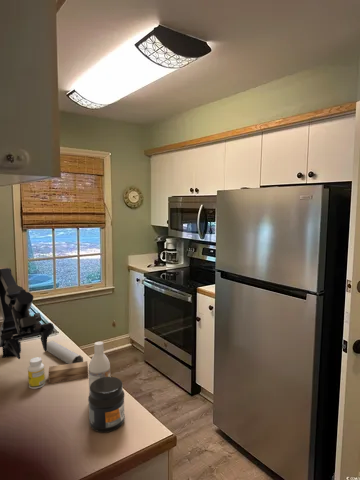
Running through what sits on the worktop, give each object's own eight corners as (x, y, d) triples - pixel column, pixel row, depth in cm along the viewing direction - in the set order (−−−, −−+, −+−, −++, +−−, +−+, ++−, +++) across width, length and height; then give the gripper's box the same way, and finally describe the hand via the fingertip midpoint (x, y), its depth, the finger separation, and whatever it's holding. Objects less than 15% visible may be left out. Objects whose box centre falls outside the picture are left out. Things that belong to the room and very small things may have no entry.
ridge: (48, 383, 121) (48, 372, 121) (49, 375, 127) (49, 365, 127) (88, 377, 126) (88, 367, 125) (87, 369, 131) (87, 360, 131)
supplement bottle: (29, 382, 122) (28, 357, 121) (45, 380, 123) (44, 355, 122) (28, 390, 117) (26, 364, 116) (44, 387, 118) (43, 361, 117)
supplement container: (131, 425, 98) (130, 386, 97) (97, 439, 92) (95, 398, 91) (116, 407, 107) (115, 372, 106) (84, 419, 101) (82, 382, 100)
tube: (41, 343, 147) (69, 361, 130) (51, 336, 151) (81, 352, 134) (45, 353, 149) (74, 371, 132) (55, 346, 152) (85, 363, 136)
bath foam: (109, 406, 107) (107, 347, 105) (87, 407, 107) (85, 347, 105) (112, 394, 114) (111, 338, 112) (92, 395, 114) (90, 339, 112)
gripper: (-2, 312, 118) (8, 352, 111) (51, 302, 130) (63, 337, 123) (-6, 328, 124) (3, 366, 117) (45, 317, 137) (56, 351, 130)
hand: (33, 354), depth 122 cm, fingers open, 9 cm apart
